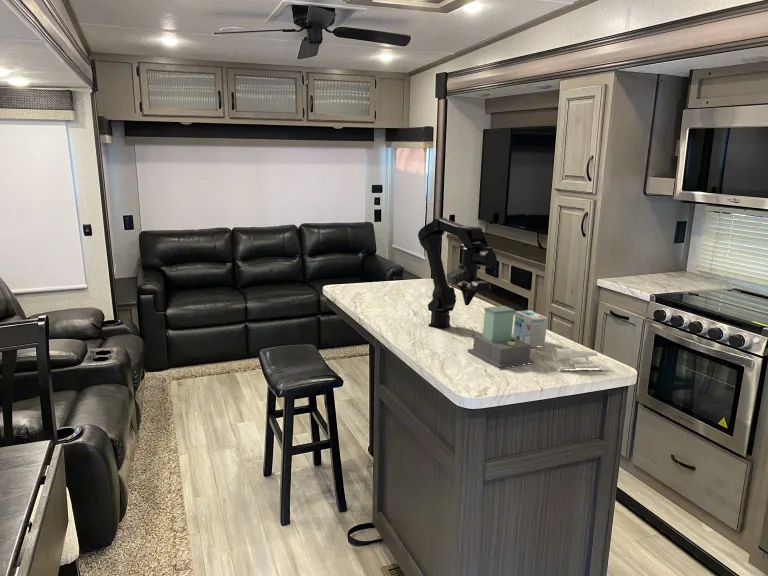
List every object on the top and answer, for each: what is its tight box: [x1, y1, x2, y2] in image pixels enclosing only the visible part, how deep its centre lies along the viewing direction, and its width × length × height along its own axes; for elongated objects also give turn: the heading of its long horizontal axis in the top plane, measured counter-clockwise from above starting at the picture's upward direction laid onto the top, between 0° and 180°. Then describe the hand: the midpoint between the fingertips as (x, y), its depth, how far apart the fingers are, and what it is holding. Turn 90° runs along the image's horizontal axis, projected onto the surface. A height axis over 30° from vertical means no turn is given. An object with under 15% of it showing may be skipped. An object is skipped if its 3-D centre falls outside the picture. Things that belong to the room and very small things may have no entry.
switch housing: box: [467, 335, 535, 369], centre depth 187 cm, size 17×14×7 cm
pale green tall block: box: [482, 305, 516, 344], centre depth 188 cm, size 5×8×15 cm, turn 117°
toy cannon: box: [551, 347, 602, 370], centre depth 181 cm, size 8×14×5 cm
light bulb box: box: [512, 309, 548, 348], centre depth 204 cm, size 11×7×11 cm, turn 21°
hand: (466, 305), depth 206 cm, fingers closed
